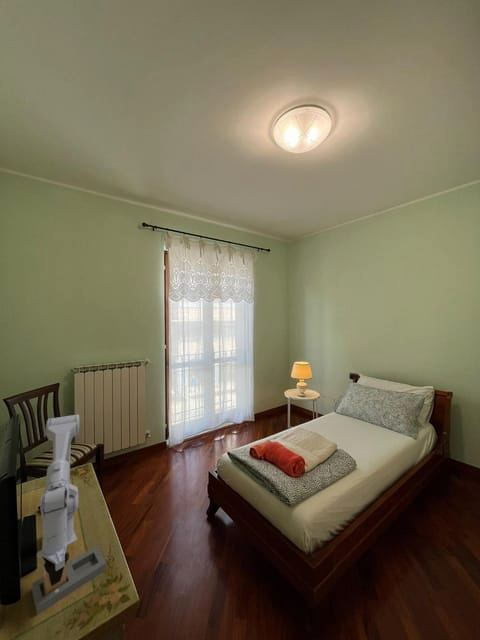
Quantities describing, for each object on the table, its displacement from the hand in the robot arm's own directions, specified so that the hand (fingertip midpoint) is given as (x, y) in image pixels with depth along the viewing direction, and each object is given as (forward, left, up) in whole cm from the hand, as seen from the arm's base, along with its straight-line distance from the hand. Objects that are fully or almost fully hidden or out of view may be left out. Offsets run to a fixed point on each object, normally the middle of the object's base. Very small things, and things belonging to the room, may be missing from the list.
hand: (54, 577), depth 73 cm
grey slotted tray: (0, +4, -4) cm, 6 cm away
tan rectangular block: (0, 0, -3) cm, 3 cm away
